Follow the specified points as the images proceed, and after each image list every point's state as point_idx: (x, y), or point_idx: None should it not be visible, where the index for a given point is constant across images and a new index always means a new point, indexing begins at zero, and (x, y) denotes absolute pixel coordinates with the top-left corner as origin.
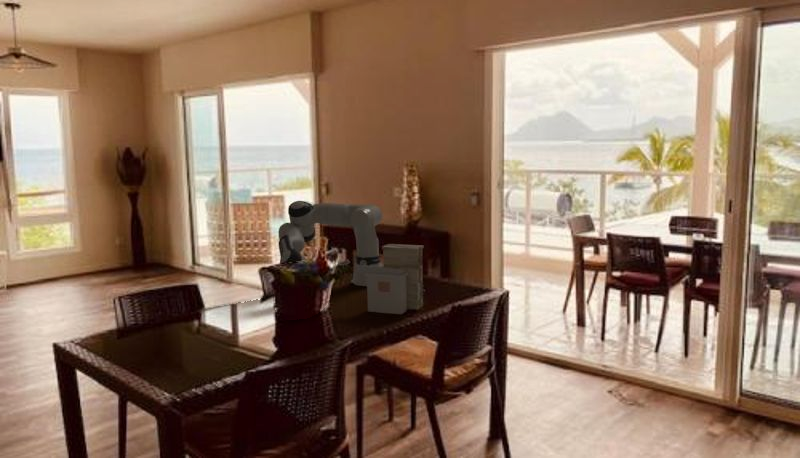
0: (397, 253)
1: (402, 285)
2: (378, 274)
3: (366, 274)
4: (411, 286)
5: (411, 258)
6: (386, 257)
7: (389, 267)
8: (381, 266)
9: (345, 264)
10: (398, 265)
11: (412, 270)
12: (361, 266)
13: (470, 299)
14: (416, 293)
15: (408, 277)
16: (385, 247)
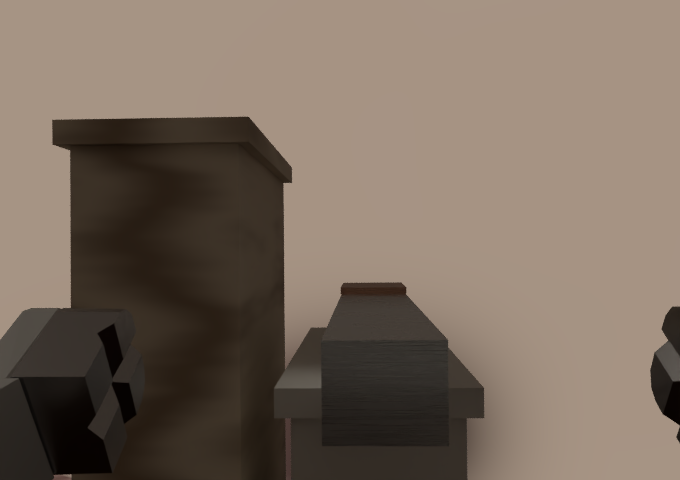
0: (263, 194)
1: None
2: (452, 357)
3: (479, 392)
4: (279, 429)
5: (279, 233)
6: (245, 229)
7: (403, 285)
8: (352, 299)
9: (108, 458)
10: (264, 293)
11: (279, 315)
12: (422, 322)
13: (57, 475)
14: (284, 464)
15: (276, 371)
16: (256, 128)
